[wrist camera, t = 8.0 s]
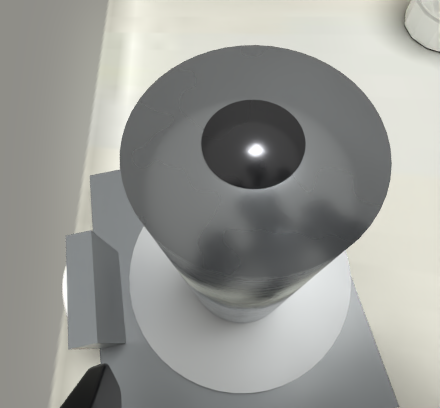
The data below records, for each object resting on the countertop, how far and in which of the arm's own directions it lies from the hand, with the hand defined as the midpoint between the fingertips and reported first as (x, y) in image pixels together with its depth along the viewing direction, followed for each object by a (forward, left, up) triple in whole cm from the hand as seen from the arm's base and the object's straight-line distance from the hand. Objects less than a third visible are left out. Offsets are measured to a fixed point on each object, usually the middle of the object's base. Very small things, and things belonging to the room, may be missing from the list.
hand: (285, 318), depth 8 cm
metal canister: (+3, 0, -9) cm, 10 cm away
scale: (+3, +1, -12) cm, 12 cm away
